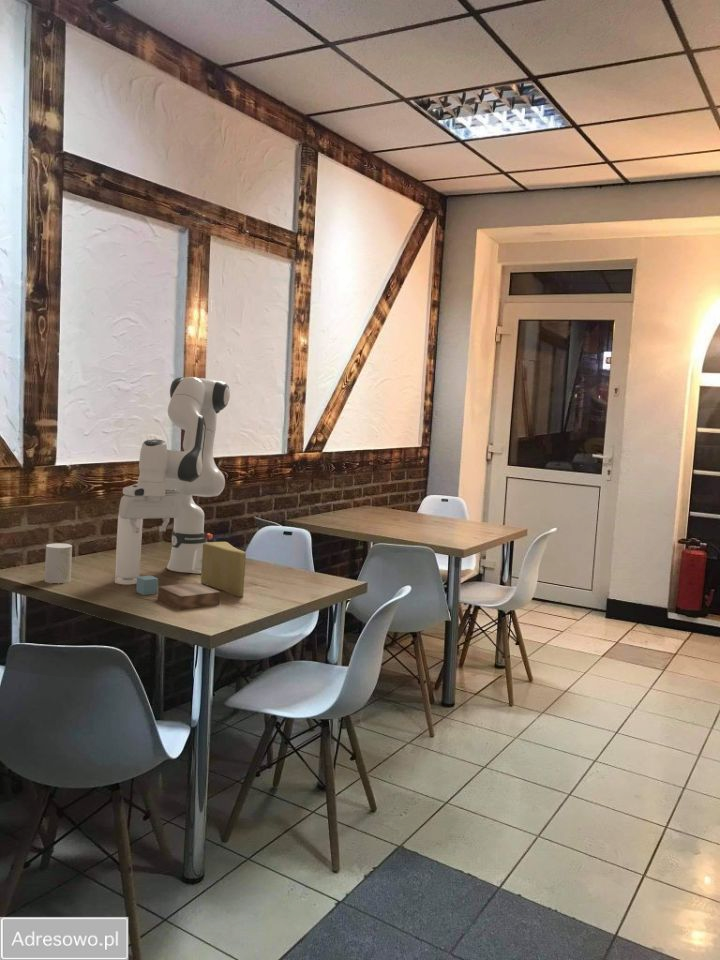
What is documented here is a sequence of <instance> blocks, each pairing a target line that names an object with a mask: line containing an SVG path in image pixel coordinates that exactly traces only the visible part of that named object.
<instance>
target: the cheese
mask: <svg viewBox="0 0 720 960" xmlns="http://www.w3.org/2000/svg"><path fill="white" fill-rule="evenodd" d="M246 558H247V557H246V552H245V551H244V550H241V549H240V548H239V549H238V548H237V547H234V546H233V545H232V544H230V542H227V541H212V542H211V541H207V543H204V544H203V553H202V569H201V573H200V584H202V585H204V586H207V587H212V588H214V589H217V590H220V591H224V592H225V593H227V594H230V595H232V596H235V597H239V598H242V597H244V593H245V592H244V591H245V590H244V589H245V576H246V575H245V574H246Z"/></svg>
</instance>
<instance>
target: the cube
mask: <svg viewBox="0 0 720 960" xmlns="http://www.w3.org/2000/svg"><path fill="white" fill-rule="evenodd" d="M158 587H159V578H157V577H155V576H153V575H143V576H142V575H141V576H140V575H139V577H137V584H136V590H135V591H136V592H137V593H139V594H141V595H142V596H145V595H154V594H158Z"/></svg>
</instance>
